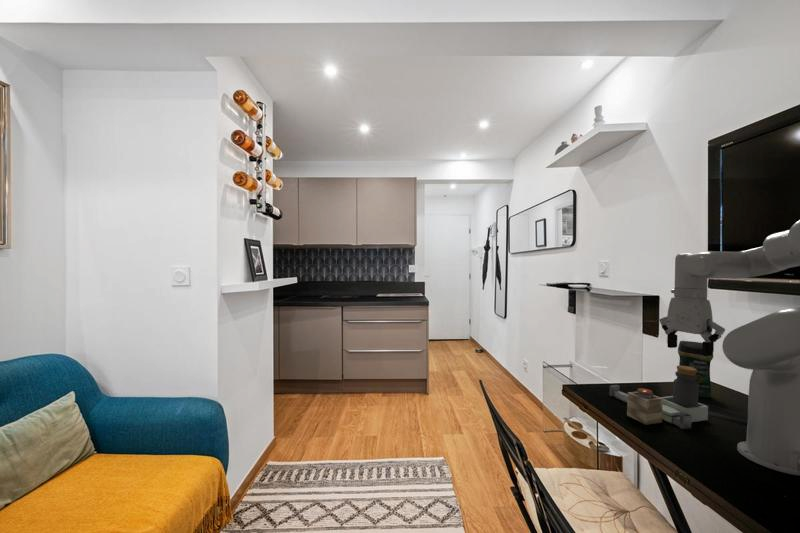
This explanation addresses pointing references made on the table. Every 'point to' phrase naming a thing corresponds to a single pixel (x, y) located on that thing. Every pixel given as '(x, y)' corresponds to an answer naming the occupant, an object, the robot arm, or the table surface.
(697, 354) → the coffee jar
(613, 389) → the rail
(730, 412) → the phone
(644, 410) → the wooden box
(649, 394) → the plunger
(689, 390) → the bottle
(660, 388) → the table surface
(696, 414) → the carriage
